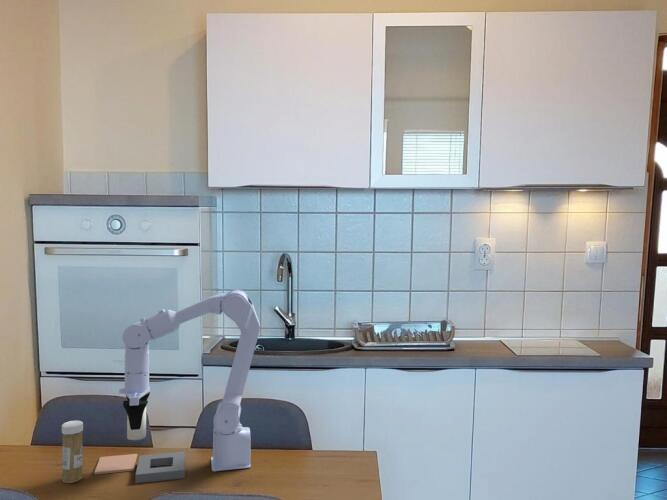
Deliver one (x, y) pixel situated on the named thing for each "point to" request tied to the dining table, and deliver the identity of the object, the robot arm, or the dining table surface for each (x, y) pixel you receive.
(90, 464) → the dining table surface
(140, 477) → the grey square frame
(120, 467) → the tile
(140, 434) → the plug
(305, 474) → the dining table surface
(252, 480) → the dining table surface
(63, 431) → the sprinkles bottle
